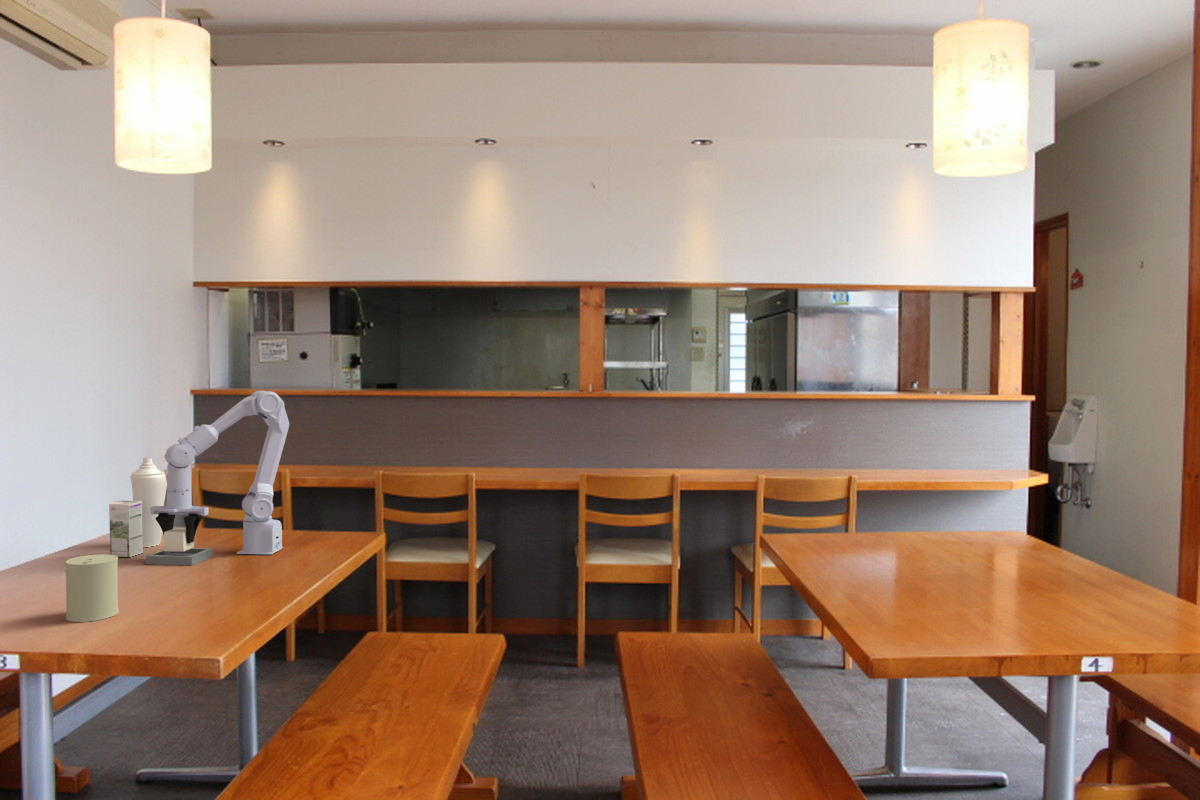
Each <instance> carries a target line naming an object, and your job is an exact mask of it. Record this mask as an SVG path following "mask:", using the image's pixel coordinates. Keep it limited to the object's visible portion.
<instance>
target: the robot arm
mask: <svg viewBox="0 0 1200 800" xmlns="http://www.w3.org/2000/svg"><path fill="white" fill-rule="evenodd" d="M249 416H260V417H261V418H262V419H263V421H264V423H266V425H267V426H268V429H267V432H266V436H265V439H264V442H263V446H262V449H261V454H260V458H259V460H258V465H257V468H256V472H255V476H254V479H253V483H252V484H251V485H250V487H249V490H248V493H247V494H246V495H245V496H244V498H243V499H242V501H241V509H242V511H243V512H244V513H245V515H244V517H243V519H242V520H243V523H242V524H243V526H242V527H243V528H242V530H243V533H242V537H243V538H242V540H243V542H242V543H243V546H242V547H243V548H242V549H241V550H239V551H237V552H236V555H237V554H238V555H272V554H275V553H276V552H278V551H281V550H283V549H284V547H283V527H282V526H283V525H282V522H281V521H280V520H278V519H273V516H272V514H273V512H274V502H273V499H274V498H273V497H274V487H273V486H274V483H275V480H276V475H277V473H278V469H279V464H280V460H281V457H282V453H283V450H284V446H285V443H286V439H287V436H288V432H289V428H290V420H289V418H288V417H289V416H288V414H287V411H286V408H285V401H283V399H282V398H281V397H280V396H279V394H277V393H276V392H274V391H269V390H268V391H266V390H257V391H255V392H253V393H251V395H248V396H247V397H245V398H243V399H241V400H240V401H238V403H236V404H235V405H233V407H231V408H230V409H229V410H227V411H226V412H224V413H223V414H222V415H221V416H220V417H218V418H217V419H216V420H214V422H212V423H211V424H201V425H200V426H199V425H196V426H194V427H193V431H191V432H190V433H189V434H187V435H186V436H185V437H183V438H181V437H180V438H179V439H177V442H178V443H174V444H172V445H170V446H169V447H168V448H167V449H166V451H165V454H164V459H165V461H166V463H167V467H166V468H167V469H166V470H167V472H166V480H167V488H166V505H164V506H153V507H150V514H151V515H154V514H158V517H156V521H157V522H158V524H159V525H160V527H161V529H162V531H163V534H162V535H164V532H166V531H168V530H171V529H174V525H175V519H176V516H177V515H180V516H181V515H182V516H183V515H184V517H183V521H184V526H185V528H186V540H187V543H192V542H194V543H195V536H196V533H197V530H198V528H199V525H200V523H201V521H202V520H203V518H204V516H208V515H209V510H210V509H209V506H199V505H198V506H197V505H193V504H192V503H193V502H192V496H193V495H192V494H193V493H192V489H193V487H192V482H193V481H192V473H193V472H192V463H193V462H194V459H195V457H199V456H200V455H201V454H202V453H204V452H205V451H206V450H208V449H209V448H210V447H212V446H213V445H214V444H215V443H217V442H218V439H219V436H220V434H221V433H222V432H224V431H226V430H227V429H228V428H230V427H231V426H232V425H235V423H237V422H239V421H240V420H241V419H243V418H244V417H249ZM282 548H283V549H282Z"/></svg>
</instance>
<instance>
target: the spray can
mask: <svg viewBox="0 0 1200 800" xmlns="http://www.w3.org/2000/svg"><path fill="white" fill-rule="evenodd" d="M129 478H130V482H131V490H132V501H142V542H143V547H148V548H152V547H151V546H154V547H157V546H156V545H158V546H159V544H160V545H161V542H162V537H163V535H164V534H163V531H162V529H161V527H160V525H159V524H158V522H157V521H156V517H158V514H154V515H151V514H150V507H153V506H165V499H166V495H167V474H165V471H163V470H160V469H158V468H157V465H156V464H154V462H153V458H150V457H143V458H142V462H141V465H139V467H138V468H137V469H136V471H133V472H131V473H130V477H129Z"/></svg>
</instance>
